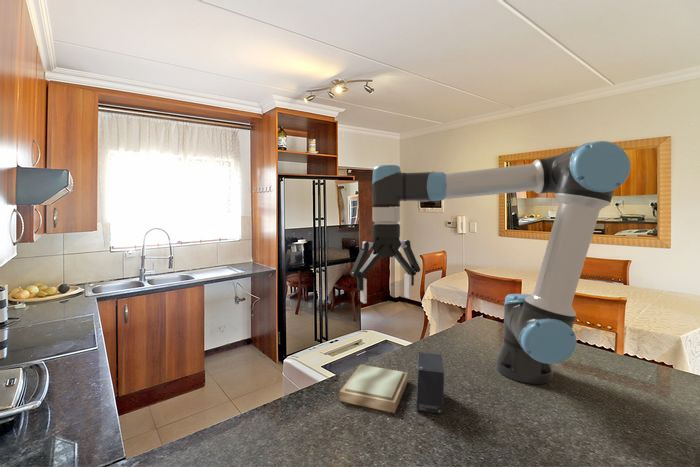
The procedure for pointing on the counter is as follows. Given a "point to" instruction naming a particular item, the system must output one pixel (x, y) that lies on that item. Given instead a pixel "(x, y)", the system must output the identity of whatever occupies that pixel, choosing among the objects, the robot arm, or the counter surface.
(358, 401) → the stand
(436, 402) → the small box
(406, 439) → the counter surface
